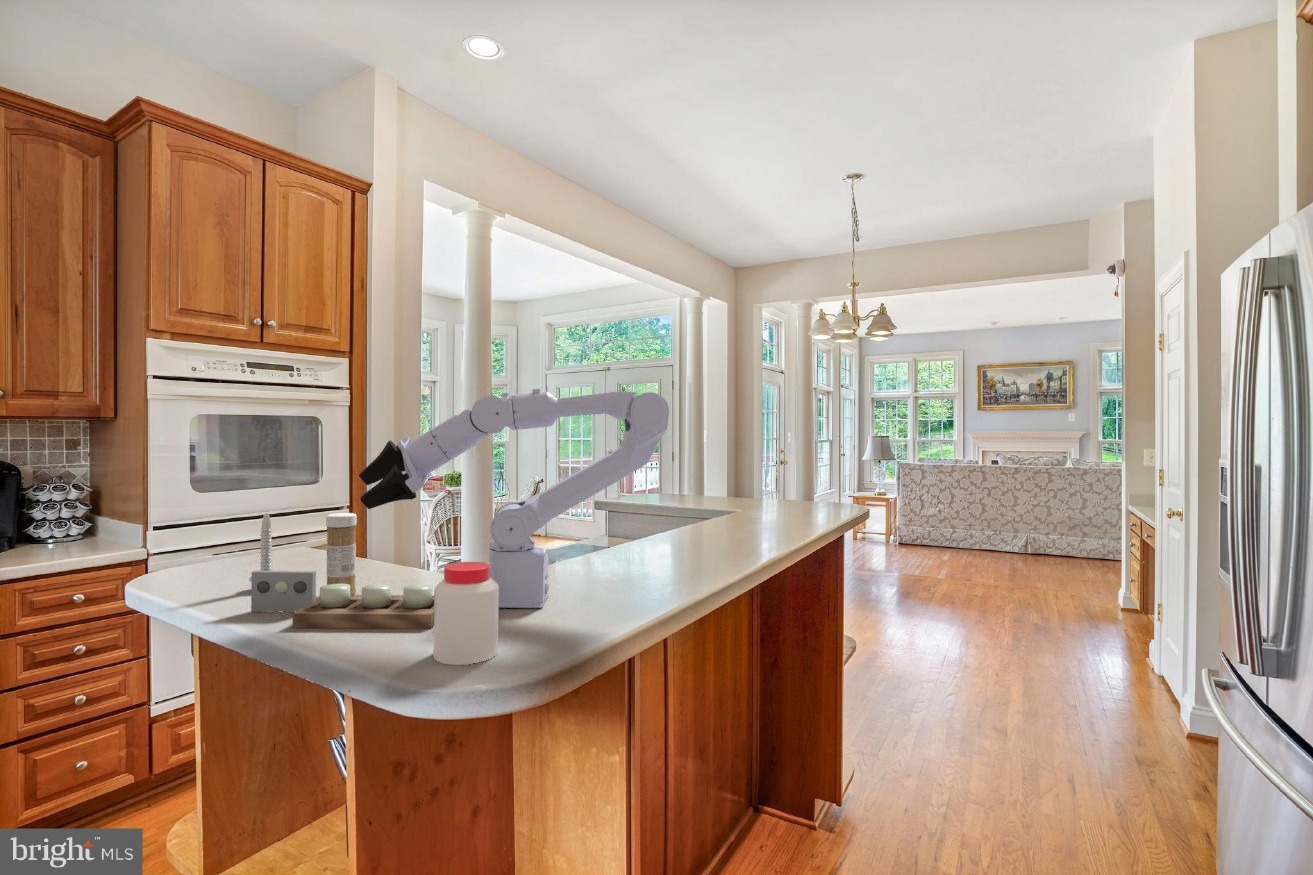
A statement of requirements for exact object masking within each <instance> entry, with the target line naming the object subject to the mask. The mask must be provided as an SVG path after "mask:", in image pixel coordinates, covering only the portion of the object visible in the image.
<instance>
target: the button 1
mask: <svg viewBox="0 0 1313 875" xmlns="http://www.w3.org/2000/svg"><path fill="white" fill-rule="evenodd" d="M319 599H320V606H321V607H326V608H333V607H341V606H345V605H348V604H350V585H349V584H330V585H327V584H326V585H322V586H320V587H319Z"/></svg>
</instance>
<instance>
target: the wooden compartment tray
mask: <svg viewBox="0 0 1313 875" xmlns="http://www.w3.org/2000/svg"><path fill="white" fill-rule="evenodd" d="M432 628H434V595H432V605H430V606H427V607H422V608H406V607H404V606H403V595H395V594H393V595H392V594H391V604H390V605H388V606H384V607H378V608H366V607H362V594H352V595H350V604H348V605H345V606H341V607H333V608H326V607H321V606H320V598H319V599H317V600H316V601H315V602H313V603H311V604H309V605H307V606H306V607H304V608H302V609H300V610H298V611H296V612H292V629H427V630H428V629H429V630H430V629H432Z"/></svg>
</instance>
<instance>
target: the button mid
mask: <svg viewBox="0 0 1313 875" xmlns="http://www.w3.org/2000/svg"><path fill="white" fill-rule="evenodd" d="M361 595H362V607H366V608H378V607H384V606H388V605H390V604H391V595H392V585H391V584H388V583H375V584H369V585H364V586H362V587H361Z"/></svg>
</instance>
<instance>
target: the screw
mask: <svg viewBox="0 0 1313 875" xmlns="http://www.w3.org/2000/svg"><path fill="white" fill-rule="evenodd" d="M261 522H262V523H261V527H260V529H261V530H260V535H259V537H260V541H259V544H260V546H259V547H260V549H259V551H260V552H259V554H260V555H259V557H260V559H259V560H260V562H259V564H260V566H259V568H260V569H259V571H273V570H272V569H273V566H272V565H273V563H272V561H273V560H272V558H273V556H272V555H273V553H272V551H273V549H272V548H273V546H272V545H273V542H272V541H273V538H272V537H273V535H272V534H273V532H272V530H273V529H272V527H271V526H272V524H271V523H272V522H271V516H270V514H268V513H265V514H264V515H263V516H262V521H261ZM251 580H252V575H251V576H250V577H249V578H248V581H249V582H250V583H251Z"/></svg>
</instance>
